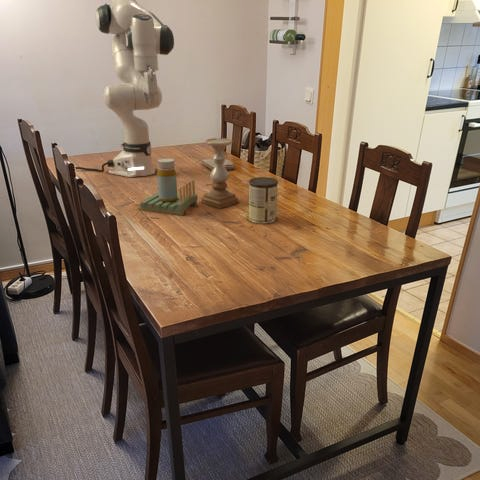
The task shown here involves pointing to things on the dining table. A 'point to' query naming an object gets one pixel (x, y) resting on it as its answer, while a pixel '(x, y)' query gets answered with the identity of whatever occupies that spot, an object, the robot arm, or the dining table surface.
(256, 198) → the coffee can
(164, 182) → the bottle
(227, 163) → the washcloth
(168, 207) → the rack
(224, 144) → the candle holder
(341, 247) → the dining table surface
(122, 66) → the robot arm
